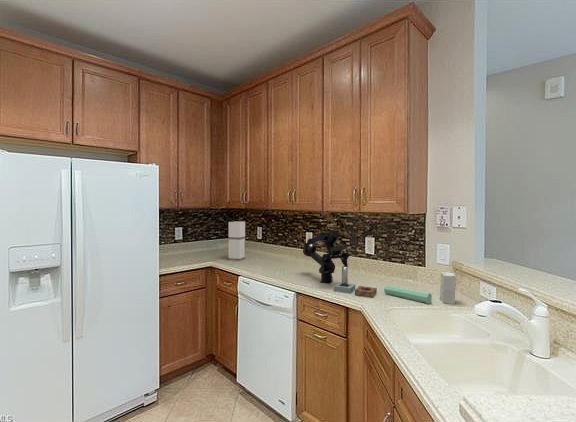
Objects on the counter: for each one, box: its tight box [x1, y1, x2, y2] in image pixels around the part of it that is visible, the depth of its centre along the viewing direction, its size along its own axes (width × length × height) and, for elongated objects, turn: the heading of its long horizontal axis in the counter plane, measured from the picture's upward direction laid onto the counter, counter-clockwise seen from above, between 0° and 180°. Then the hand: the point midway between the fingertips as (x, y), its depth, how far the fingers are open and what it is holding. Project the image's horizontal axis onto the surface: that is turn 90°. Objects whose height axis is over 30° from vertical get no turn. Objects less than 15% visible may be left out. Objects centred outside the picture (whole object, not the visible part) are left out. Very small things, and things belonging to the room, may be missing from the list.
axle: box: [341, 265, 349, 287], centre depth 178 cm, size 3×3×14 cm
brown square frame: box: [354, 285, 378, 299], centre depth 170 cm, size 10×10×3 cm
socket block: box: [333, 281, 356, 295], centre depth 178 cm, size 10×10×3 cm
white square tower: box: [228, 220, 246, 262], centre depth 275 cm, size 11×11×35 cm
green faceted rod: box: [383, 285, 433, 305], centre depth 163 cm, size 6×6×25 cm
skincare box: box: [439, 271, 457, 305], centre depth 158 cm, size 8×6×15 cm
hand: (340, 268), depth 181 cm, fingers open, 9 cm apart
